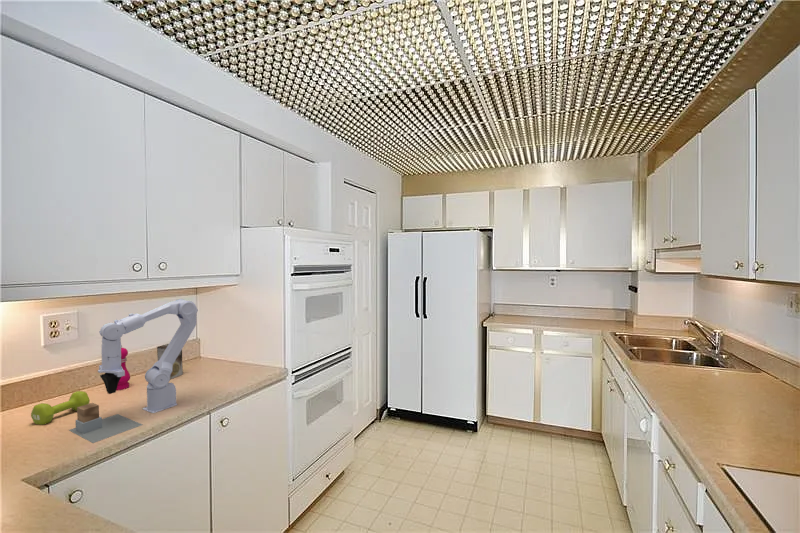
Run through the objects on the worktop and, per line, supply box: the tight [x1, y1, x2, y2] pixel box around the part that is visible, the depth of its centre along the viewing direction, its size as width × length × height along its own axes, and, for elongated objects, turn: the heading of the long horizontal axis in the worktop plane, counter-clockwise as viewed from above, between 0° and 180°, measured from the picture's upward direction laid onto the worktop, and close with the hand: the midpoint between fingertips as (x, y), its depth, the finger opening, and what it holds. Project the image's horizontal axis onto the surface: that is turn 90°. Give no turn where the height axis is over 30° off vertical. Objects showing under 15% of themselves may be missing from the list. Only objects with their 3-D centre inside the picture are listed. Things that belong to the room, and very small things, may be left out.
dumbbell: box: [30, 390, 90, 426], centre depth 143 cm, size 16×8×7 cm, turn 165°
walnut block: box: [76, 402, 100, 423], centre depth 132 cm, size 4×4×4 cm
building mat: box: [68, 413, 144, 444], centre depth 134 cm, size 15×18×1 cm
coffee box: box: [156, 342, 184, 380], centre depth 188 cm, size 9×6×16 cm
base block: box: [75, 416, 103, 434], centre depth 133 cm, size 6×6×4 cm
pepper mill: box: [116, 344, 131, 391], centre depth 173 cm, size 7×7×20 cm
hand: (111, 392), depth 139 cm, fingers closed
